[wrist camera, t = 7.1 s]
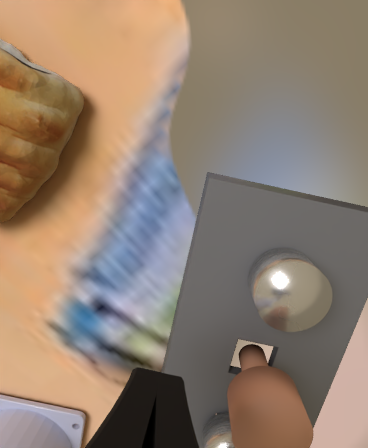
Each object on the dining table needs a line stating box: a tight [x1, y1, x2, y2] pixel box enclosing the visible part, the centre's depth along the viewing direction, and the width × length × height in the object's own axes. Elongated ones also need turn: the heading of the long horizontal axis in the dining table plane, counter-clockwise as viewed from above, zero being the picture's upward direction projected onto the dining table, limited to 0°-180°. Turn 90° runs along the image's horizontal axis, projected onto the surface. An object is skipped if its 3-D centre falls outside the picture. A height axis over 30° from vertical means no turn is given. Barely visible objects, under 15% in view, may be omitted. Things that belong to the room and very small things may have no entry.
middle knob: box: [227, 344, 313, 448], centre depth 14 cm, size 3×3×5 cm
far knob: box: [202, 412, 235, 448], centre depth 18 cm, size 3×3×5 cm
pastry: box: [0, 39, 84, 222], centre depth 15 cm, size 9×7×4 cm
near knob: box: [248, 248, 332, 332], centre depth 15 cm, size 3×3×5 cm
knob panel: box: [161, 172, 368, 448], centre depth 17 cm, size 18×9×3 cm, turn 168°
